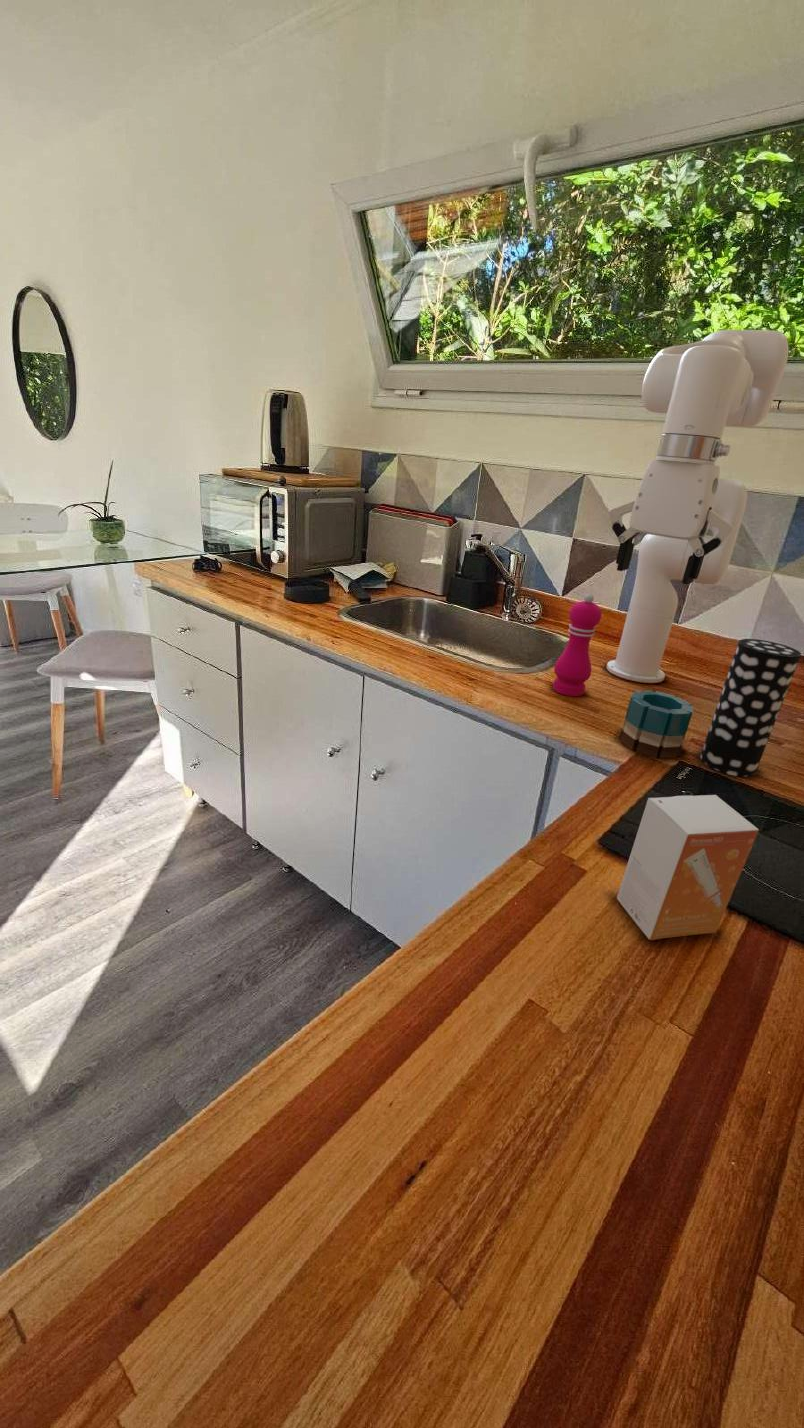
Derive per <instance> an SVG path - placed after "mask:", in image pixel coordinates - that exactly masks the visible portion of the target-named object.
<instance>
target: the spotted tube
mask: <svg viewBox="0 0 804 1428" xmlns="http://www.w3.org/2000/svg"><path fill="white" fill-rule="evenodd" d="M801 657H802V653H801V651H799V650H797V648H794V647H791V646H788V645H785V644H782V643H779V642H778V643H777V642H774V641H769V640H765V639H756V638H741V639H739V641H738V643H737V645H736V648H735V652H734V655H733V658H732V661H731V663H730V665H729V670H728V673H727V676H726V679H725V681H724V684H723V687H722V691H721V693H720V696H719V699H718V702H717V704H716V708H715V711H714V713H713V717H712V719H711V723H710V725H709V729H708V730H707V731H708V732H707V734H706V738H705V740H704V744H703V747H702V749H701V753H700V761H702V762H703V763H704V764H705V765H706V766H707V767H710V768H711V769H713V770H715V771H718V772H721V773H723V774H726V775H730V776H735V777H743V778H744V777H752V776H754V775H756V773H757V770H758V768H759V765H760V762H761V759H762V757H763V755H764V752H765V749H766V748H767V744H768V742H769V739H770V736H771V734H772V731H773V729H774V727H775V724H776V721H777V719H778V717H779V716H778V715H779V713H780V711H781V708H782V705H783V704H784V700H785V697H786V696H787V692H788V691H789V687H790V684H791V682H792V679H793V677H794V675H795V672H796V669H797V668H798V667H797V666H798V664H799V661H800V659H801Z"/></svg>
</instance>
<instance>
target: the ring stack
mask: <svg viewBox="0 0 804 1428" xmlns="http://www.w3.org/2000/svg"><path fill="white" fill-rule="evenodd" d="M642 729H643V728H641V729H638V728H636V727H635V726H634V725H632V724H631V723H629V722H628V721H626V719H625V718H624V721H623V724H622V727H621V732H620V736H619V741H620V743H622V744H623V745H624V746H625V747H627V748H628V749H629V750H631V751H635V753H638V754H641V755H645V756H647V757H652V758H654V759H655V758H657V757H658V758H659V759H672V758H673V759H675V758H677V757H679V756H680V753H681V750H682V747H683V744H684V741H685V737H686V735H687V733H686V734H684V735H683V736H668V737H667V736H666V735H664V734H663V736H661V735H657V734H653V733H650V732H646V731H642Z"/></svg>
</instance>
